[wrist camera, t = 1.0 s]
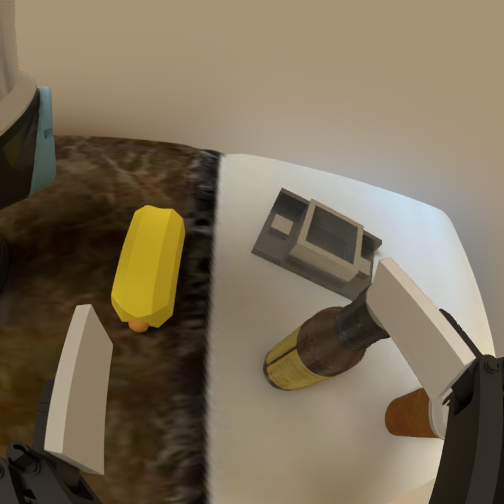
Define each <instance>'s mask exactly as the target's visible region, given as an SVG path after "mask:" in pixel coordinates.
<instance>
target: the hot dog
mask: <svg viewBox="0 0 504 504" xmlns="http://www.w3.org/2000/svg"><path fill="white" fill-rule="evenodd" d="M184 238H185V228H184V222H183V218H182V217H181V216H180V215H179V214H178V213H177V212H175V211H174V210H173V209H160V208H156V207H153V206H149V205H146V206H144V207H142V208H141V209H139V210H137V211H135V213H134V216H133V219H132V222H131V224H130V227H129V230H128V233H127V236H126V239H125V242H124V245H123V248H122V252H121V255H120V259H119V263H118V267H117V271H116V275H115V280H114V284H113V289H112V293H111V300H112V306H113V307H114V309H115V311H116V312H117V314H118V316H119V317H120V319H121V321H123V322H128V324H129V327H130V328H131V329H132V330H134V331H136V332H144V331H146V330H147V329H148V327H149V326H153V327H157V328H159V327H160V326H161V325H162V324H163V323H164V322H165V321H166V320H168V319H169V318H170V317H171V316H172V315H173V309H174V301H175V294H176V286H177V280H178V273H179V266H180V260H181V255H182V249H183V243H184Z"/></svg>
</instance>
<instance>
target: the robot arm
mask: <svg viewBox="0 0 504 504" xmlns="http://www.w3.org/2000/svg"><path fill="white" fill-rule="evenodd" d="M55 175H56V160H55V148H54V137H53V119H52V97H51V89H50V88H49V87H39V88H37V85H36V80H35V78H34V76H33V74H31V73H30V72H28V71H25V70H22V69H19V65H18V57H17V47H16V33H15V0H0V210H2V209H4V208H6V207H8V206H10V205H12V204H14V203H17V202H19V201H21V200H23V199H26V198H30V197H31V196H32V195H33V194H34V193H36V192H38V191H40V190H42V189H44V188H46V187H48V186H49V185H50V184H51V183H52V182H53V180H54V178H55ZM8 267H9V251H8V246H7V244H6V241H5V240H4V238H3V237H2V235H1V234H0V291H1V289H2V287H3V285H4V282H5V279H6V276H7V272H8ZM367 303H368V305H369V306H370V307H371V309H372V310H373V312H374V313H375V315H376V316H377V317H378V319H379V320H380V322H381V323H382V325H383V326H384V328H385V329H386V331H387V332H388V333H389V335H390V336H391V338H392V339H393V341H394V342H395V344H396V345H397V347H398V348H399V350H400V352H401V353H402V355H403V356H404V358H405V359H406V361H407V362H408V364H409V365H410V367H411V369H412V370H413V372H414V373H415V375H416V377H417V378H418V380H419V381H420V383H421V385H422V386H423V388H424V390H425V391H426V393H427V395H428V396H429V398H430V400H431V401H432V402H433V401H435V400H436V399H438V398H440V397H441V396H443V395H444V394H445V393H446V392H447V391H448V390H449V389H450V388H451V389H452V392H451V393H450V394H449V395H448V396H447V397H446V398H445V399H444V400H443V403H442V405H445V404H446V403H447V402H448V401H449V400H450V401H449V402H448V404H447V405H446V406H449V411H448V419H447V427H446V433H445V440H444V445H443V450H442V455H441V460H440V465H439V469H438V473H437V477H436V481H435V484H434V488H433V491H432V495H431V498H430V501H429V504H504V357H502V358H497V359H496V358H495V357H494V356H492V355H482V354H481V352H480V351H479V350H478V349H477V347H476V346H475V345H474V343H473V342H472V341H471V339H470V338H469V337H468V336H467V334H466V333H465V332H464V331H462V328H461V327H460V326H459V324H457V322H456V321H455V320H454V318H453V317H452V316H451V315H450V314H449V313H447V312H446V311H444V310H443V309H439V310H438V309H437V307H436V306H435V305H434V304H433V303H432V302H431V300H430V299H429V298H428V297H427V296H426V295H425V294H424V292H423V291H422V290H421V289H420V288H419V287H418V286H417V285H416V284H415V282H414V281H413V280H412V279H411V278H410V277H409V276H408V275H407V274H406V273H405V272H404V271H403V270H402V268H401V267H400V266H399V265H398V264H397V263H396V262H395V261H394V260H393V259H392V258H387V259H382V260H379V262H378V266H377V270H376V273H375V277H374V280H373V284H372V287H371V290H370V294H369V297H368V300H367ZM112 349H113V344H112V342H111V340H110V339H109V337H108V335H107V333H106V332H105V330H104V328H103V326H102V324H101V322H100V321H99V319H98V317H97V315H96V313H95V311H94V309H93V307H92V305H91V304H88V305H78V306H76V309H75V312H74V315H73V318H72V321H71V324H70V327H69V330H68V333H67V337H66V340H65V344H64V347H63V351H62V354H61V358H60V362H59V366H58V370H57V374H56V379H55V380H47V382H46V384H45V385H44V387H43V389H42V391H41V396H40V400H39V402H40V404H39V405H38V413H37V416H36V422H35V429H34V436H33V444H32V448H30V447H29V446H27V445H26V444H24V443H22V442H21V441H14V442H12V443H11V444H10V445H9V446H8V448H7V451H6V460H5V459H4V458H2V457H0V504H103V503H102V502H101V501H100V499H99V498H98V497H97V496H96V494H95V493H94V492H93V491H92V489H91V488H90V487H89V485H88V484H87V483H86V481H85V480H84V478H83V477H82V476H81V475H80V474H79V469H80V470H83V471H85V472H87V473H93V474H100V475H104V428H105V411H106V398H107V388H108V379H109V371H110V363H111V356H112ZM24 496H25V497H26V499H27V502H26V500H25V497H24Z"/></svg>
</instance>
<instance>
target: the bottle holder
mask: <svg viewBox="0 0 504 504" xmlns="http://www.w3.org/2000/svg"><path fill="white" fill-rule="evenodd" d="M381 245H382V240H380V239H379V238H377V237H375V236H373V235H372V234H370V233H368V232H366V231H364V230H363V226H362V225H360V224H358V223H357V222H355V221H353V220H351V219H349V218H348V217H346V216H344V215H342V214H340V213H338V212H336V211H335V210H333V209H331V208H329V207H327V206H325V205H323V204H321V203H319V202H317V201H315V200H313V199H311V200H310V201H308V200H306V199H304V198H302V197H300V196H298V195H296V194H294V193H292V192H290V191H288V190H286V189H284V188H282V189H281V191H280V193H279V195H278V197H277V199H276V201H275V203H274V205H273V207H272V209H271V212H270V214H269V216H268V218H267V220H266V222H265V224H264V227H263V229H262V231H261V233H260V235H259V237H258V239H257V241H256V244H255V246H254V248H253V250H252V253H254V254H256V255H258V256H260V257H262V258H264V259H266V260H268V261H270V262H273V263H275V264H277V265H279V266H281V267H283V268H285V269H287V270H289V271H291V272H294V273H296V274H298V275H300V276H302V277H304V278H306V279H308V280H310V281H312V282H315V283H317V284H319V285H321V286H323V287H325V288H327V289H329V290H331V291H333V292H336V293H338V294H340V295H342V296H344V297H346V298H348V299H350V300H352V301H354V300H356V299H357V297H358V296H359V294H360V293H361V292H362V291H363V290H364V289H365V288H366V287H368V286H369V285H370V284H371V279H372V269H373V257H374V251H376V250H377V249H378V248H379V247H380V246H381Z"/></svg>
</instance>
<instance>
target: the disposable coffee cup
mask: <svg viewBox="0 0 504 504" xmlns="http://www.w3.org/2000/svg"><path fill="white" fill-rule="evenodd" d="M451 392H452V389H451V388H450V389H449V390H448V391H447V392H446V393H445V394H444V395H443V396H441V397H440V398H438V399H436V400H435V401H433V402H432V401H431V400H430V398H429V396H428V395H427V393H426V391H425V390H424V388H421V389H418V390H416V391H414V392H411V393H409V394H407V395H404V396H402V397H400V398H397V399H395V400H393V401H392V402H391V403H390V405H389V406H388V408H387V411H386V415H385V423H386V427H387V429H388V431H389V432H390V433H391V434H393V435H399V436H411V437H426V438H440V439H442V440H445V433H446V427H447V419H448V411H449V406H446V405H447V404H448V402H449V401H450V400H449V401H448V402H447V403H446V404H445V405H442V403H443V400H444V399H445V398H446V397H447V396H448V395H449V394H450V393H451Z"/></svg>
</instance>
